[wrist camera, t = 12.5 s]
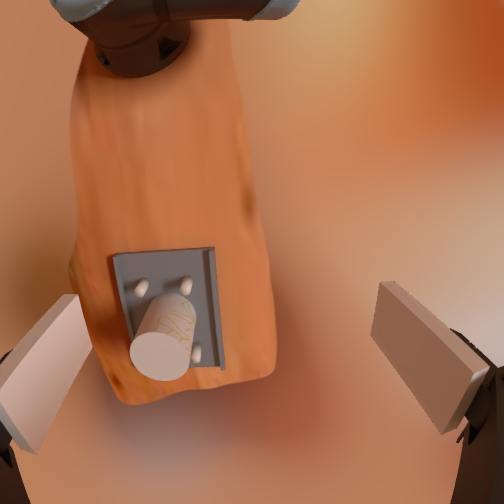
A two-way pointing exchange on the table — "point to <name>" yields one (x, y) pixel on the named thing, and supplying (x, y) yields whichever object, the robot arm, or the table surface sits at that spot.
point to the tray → (178, 282)
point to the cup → (165, 338)
